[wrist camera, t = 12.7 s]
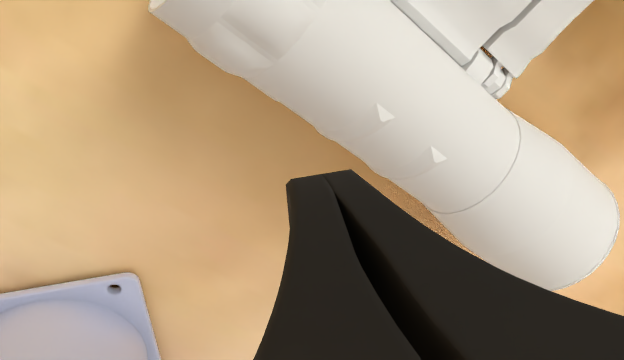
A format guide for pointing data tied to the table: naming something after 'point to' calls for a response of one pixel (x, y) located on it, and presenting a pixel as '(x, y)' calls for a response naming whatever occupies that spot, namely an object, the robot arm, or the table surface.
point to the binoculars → (426, 112)
